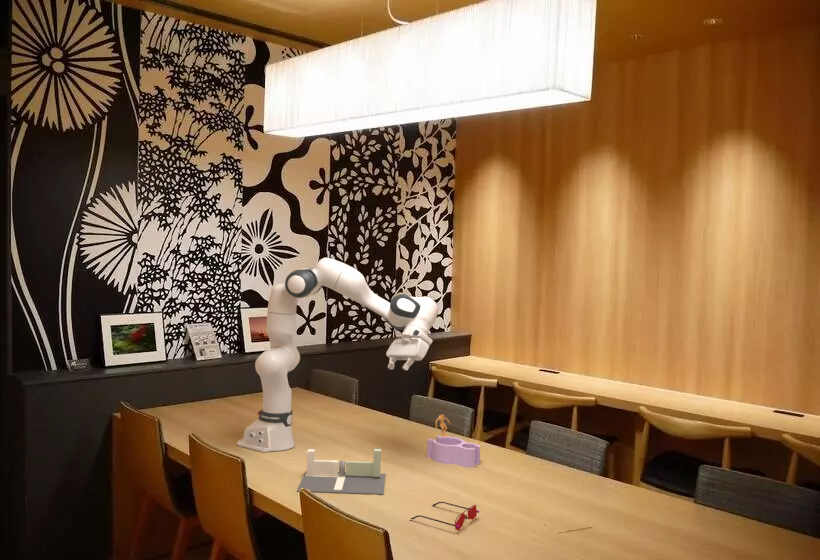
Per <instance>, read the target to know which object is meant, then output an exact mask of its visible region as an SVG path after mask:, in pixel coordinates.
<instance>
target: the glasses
mask: <svg viewBox="0 0 820 560" xmlns="http://www.w3.org/2000/svg"><path fill="white" fill-rule="evenodd" d="M439 504H446V505H449V506H453V507H457V508H461V509H464V511H463V512H461V513H460V514H459V515H457V517H456V519H455V521H454V524H453V523H449V522H446V521H444V520H443V521H442V520H438V519H435V518H432V517H428V516H424V515H415V516H414V517H411V518H410V519H413V520H414V519H418V518H424V519H427V520H431V521H434V522H438V523H442V524H445V525H449V526H452V527H454V530H456V531H458V530H459V529H460V528H461V527H463V525H464V523H466V522H465V520H466V521H467V520H473V519H474V518H475V517H476V518H477V515H478V513H480V510H479V509H478V510H477V504H474V505H471V506H470V507H469V508H468V507H464V506H460V505H458V504H457V505H456V504H453V503H448V502H446V501H438V502H436V503H434V504H432V505H433V506H432V507H435V506H436V505H439ZM466 512H467V515H466V514H465V513H466ZM476 518H475V519H476ZM461 529H462V528H461Z"/></svg>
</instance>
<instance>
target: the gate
mask: <svg viewBox="0 0 820 560" xmlns="http://www.w3.org/2000/svg"><path fill="white" fill-rule="evenodd" d="M373 449H374V450H373V461H355V460H353V461H352V460H350V461H349V460H339V462H338V472H339V475H355V476H373V477H380V474H381V466H382V465H381V464H382V462H381V461H382V448H373ZM345 472H346V474H345Z"/></svg>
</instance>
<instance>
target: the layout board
mask: <svg viewBox="0 0 820 560" xmlns="http://www.w3.org/2000/svg"><path fill="white" fill-rule="evenodd" d="M345 474H346V471H345ZM386 475H387V473H380V477H373V476H355V475H339V471H338V477H332V475H328V474H314V476H307V470H306V471H305V472H304V474H303V476H302V479H301V480H300V483H299V485H298V487H297V489H296V493H300V492H299V490H300V489H301V488H304V489H308V490H310V491H311V492H310V493H317V494H342V493H343V494H345V493H346V494H347V495H369V494H378V495H377V496H383V495H384V493H385V483H386ZM343 494H342V495H343ZM346 494H345V495H346Z"/></svg>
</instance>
